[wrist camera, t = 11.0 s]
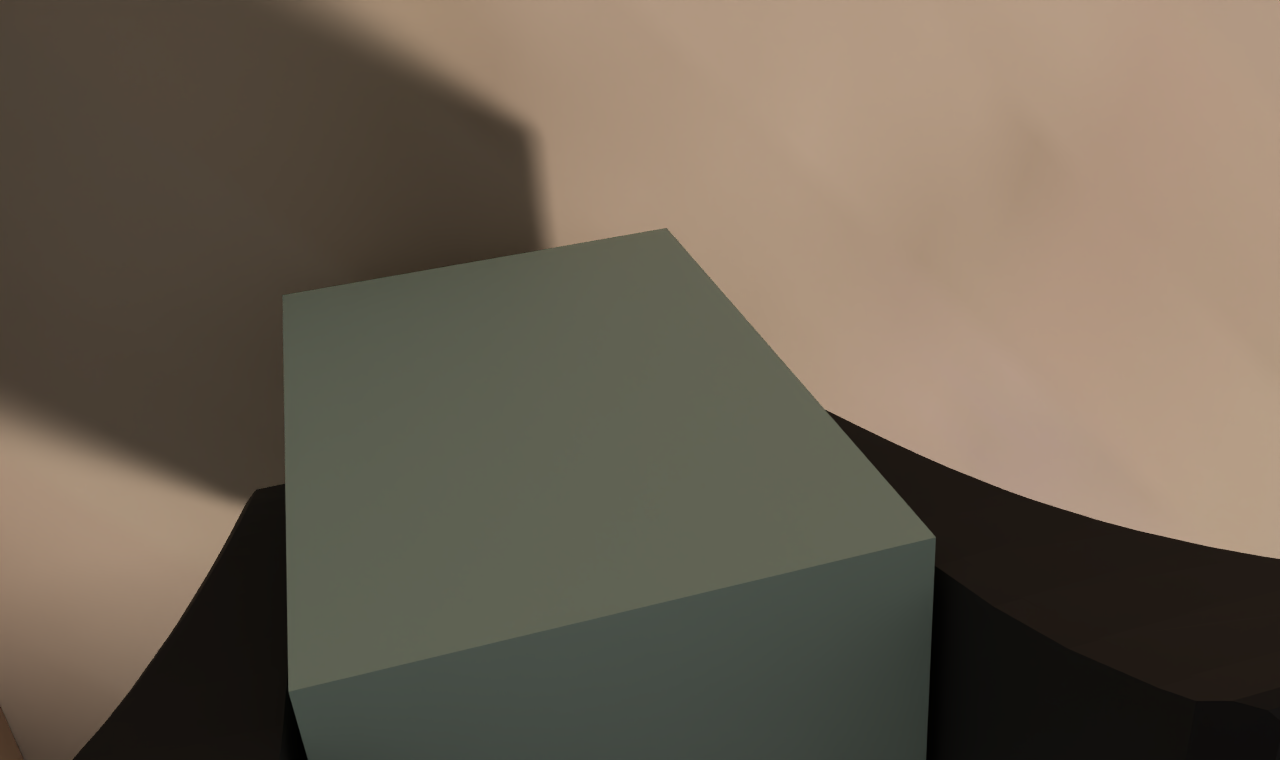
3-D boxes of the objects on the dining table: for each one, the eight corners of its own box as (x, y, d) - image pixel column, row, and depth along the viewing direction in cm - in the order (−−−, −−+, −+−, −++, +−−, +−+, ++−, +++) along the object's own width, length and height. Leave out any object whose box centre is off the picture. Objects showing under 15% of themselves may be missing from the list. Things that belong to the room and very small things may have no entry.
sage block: (690, 536, 15) (917, 953, 9) (358, 612, 14) (409, 1113, 9) (666, 228, 13) (935, 537, 8) (282, 294, 12) (288, 692, 7)
